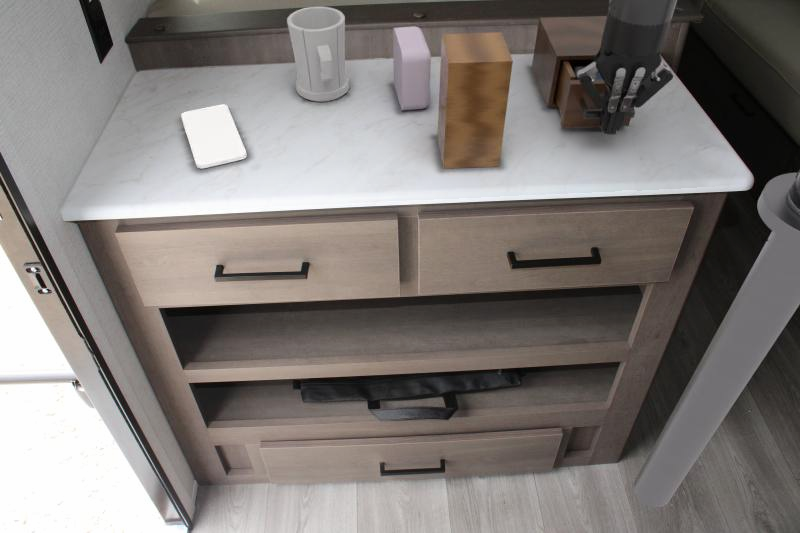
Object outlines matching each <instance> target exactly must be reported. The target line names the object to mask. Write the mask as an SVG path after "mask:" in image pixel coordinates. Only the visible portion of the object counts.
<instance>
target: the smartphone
mask: <svg viewBox="0 0 800 533" xmlns="http://www.w3.org/2000/svg"><path fill="white" fill-rule="evenodd" d="M180 117H181V121H182V124H183V128H184V131H185V132H184V133H185V135H186V137H187V141H188V143H189V146H190V149H191V153H192V156H193V159H194V163H195V166H196V168H198V169H200V170H201V169H207V168H212V167H216V166H220V165H224V164H228V163H234V162H238V161H241V160H244V159H246V158H247V156H248V155H247V150H246V148H245V145H244V143H243V140H242V138H241V136H240V133H239V131H238V128H237V125H236V123H235V120H234V117H233V116H232V114H231V111H230V108H229V106H228V104H224V103H223V104H222V103H221V104H216V105H212V106H206V107H201V108H196V109H192V110H187V111H184V112H182V113H181V114H180Z"/></svg>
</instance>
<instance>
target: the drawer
mask: <svg viewBox="0 0 800 533" xmlns="http://www.w3.org/2000/svg"><path fill="white" fill-rule="evenodd" d="M593 62H594V59H585V60H561V61H560V67H559V72H558V78H557V83H556V88H555V94H554V98H555V100H556V103H557V105H558V108H557V109H558V110H559V112H560V116H561V117H560V123H559V124H560V127H561V128H562V129H570V128H571V129H572V128H574V129H577V128H601V127H600V125H599V120H600V116H601V112H602V108H601V109H598V108H596V106H595V105H594V103H593V102H592V100H591V99H590V97H589V95H588V94H587V92H586V91H585V89H584V88H583V86H582V85H581V83H580V81H579V80H575V79H576V76H575V74H574V67H577V66H588V65H590V64H591V63H593ZM604 83H605V82H604V81H603V80H595V82H594V83H593V84H594V85H595V87H596V88H597V90H598V91H599V93H600V94H601V95H604V91H605V87H604ZM635 108H636V107H635V106H634V107H631V108H629V109H628V110H627V111H626V113H625V117H624V120H623V123H622V127H629V126H630V124H631V120H632V119H633V118H634V117H635V114H636V109H635Z"/></svg>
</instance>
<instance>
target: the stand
mask: <svg viewBox="0 0 800 533" xmlns="http://www.w3.org/2000/svg"><path fill="white" fill-rule="evenodd" d="M513 62H514V61H513V57H512V55H511V53H510V50H509V47H508V45H507V42H506V40H505V37H504V35H503V32H501V31H499V32H469V33H468V32H467V33H464V32H463V33H442V34H441V46H440V67H439V68H440V70H439V92H438V93H439V94H438V116H437V117H438V118H437V142H438V147H439V152H440V157H441V158H440V159H441V164H442V169H467V168H469V169H470V168H492V167H493V168H495V167H500V164H501V155H502V149H503V148H502V146H503V141H504V140H503V139H504V133H505V126H506V125H505V124H506V117H507V110H508V103H509V102H508V101H509V94H510V92H509V91H510V87H511V86H510V85H511V77H512V69H513Z"/></svg>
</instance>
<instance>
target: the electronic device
mask: <svg viewBox="0 0 800 533" xmlns="http://www.w3.org/2000/svg"><path fill="white" fill-rule="evenodd" d="M392 36H393V37H392V40H393V41H392V42H393V43H392V47H393V48H392V54H393V55H392V56H393V57H392V58H393V61H392V62H393V84H394V85H393V86H394V89H395V92H396V96H397V99H398V102H399V106H400V111H413V110H423V109H426V108H427V107H428V106H429V104H430V100H431V98H430V96H431V69H432V68H431V65H432V55H431V51H430V49H429V46H428V43H427V41H426V38H425V35H424V33H423V31H422V29H421V28H420V27H418V26H416V25H415V26H402V27H393V29H392Z"/></svg>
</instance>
